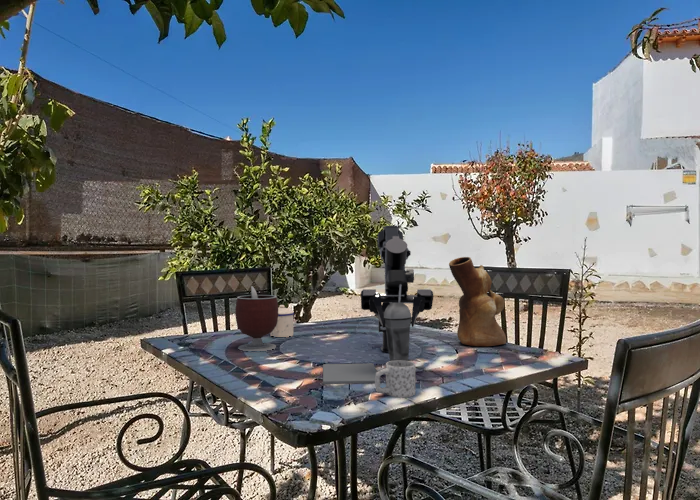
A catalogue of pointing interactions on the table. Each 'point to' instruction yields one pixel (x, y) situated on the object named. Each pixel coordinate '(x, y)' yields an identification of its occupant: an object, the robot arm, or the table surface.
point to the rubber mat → (349, 373)
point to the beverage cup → (398, 329)
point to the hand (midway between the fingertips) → (398, 325)
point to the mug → (397, 379)
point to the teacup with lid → (283, 323)
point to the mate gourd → (256, 319)
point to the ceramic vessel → (477, 305)
